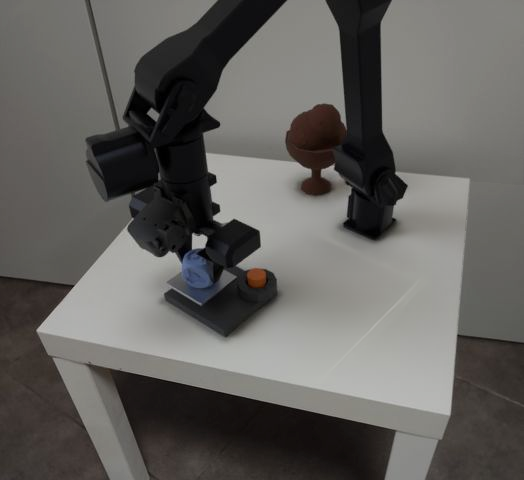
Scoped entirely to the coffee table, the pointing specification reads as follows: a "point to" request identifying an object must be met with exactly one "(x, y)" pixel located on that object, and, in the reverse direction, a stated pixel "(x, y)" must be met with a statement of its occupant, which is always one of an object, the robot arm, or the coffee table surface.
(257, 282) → the tare button
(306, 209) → the coffee table surface
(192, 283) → the decorative dice
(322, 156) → the ice cream bowl
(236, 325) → the scale
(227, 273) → the scale pan
